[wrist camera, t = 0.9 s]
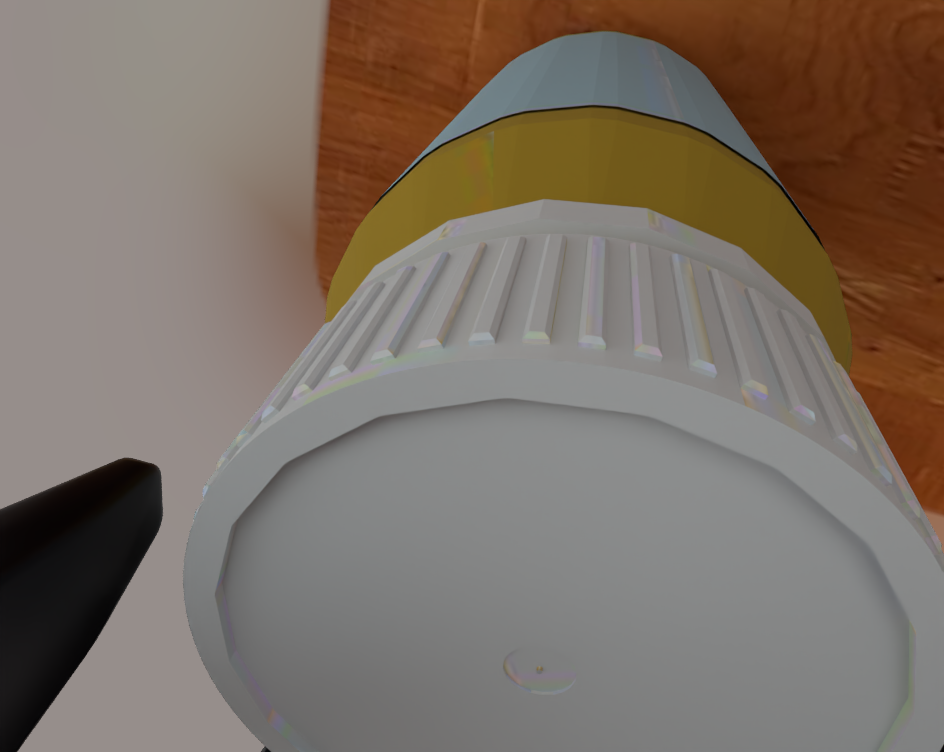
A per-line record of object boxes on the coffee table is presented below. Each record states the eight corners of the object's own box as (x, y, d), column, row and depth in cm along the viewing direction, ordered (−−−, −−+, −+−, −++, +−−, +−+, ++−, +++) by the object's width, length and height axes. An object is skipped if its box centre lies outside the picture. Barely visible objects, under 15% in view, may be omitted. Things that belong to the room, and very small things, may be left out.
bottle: (439, 266, 20) (151, 787, 8) (488, -4, 17) (87, 153, 4) (677, 327, 20) (781, 973, 7) (782, 65, 16) (1347, 469, 4)
